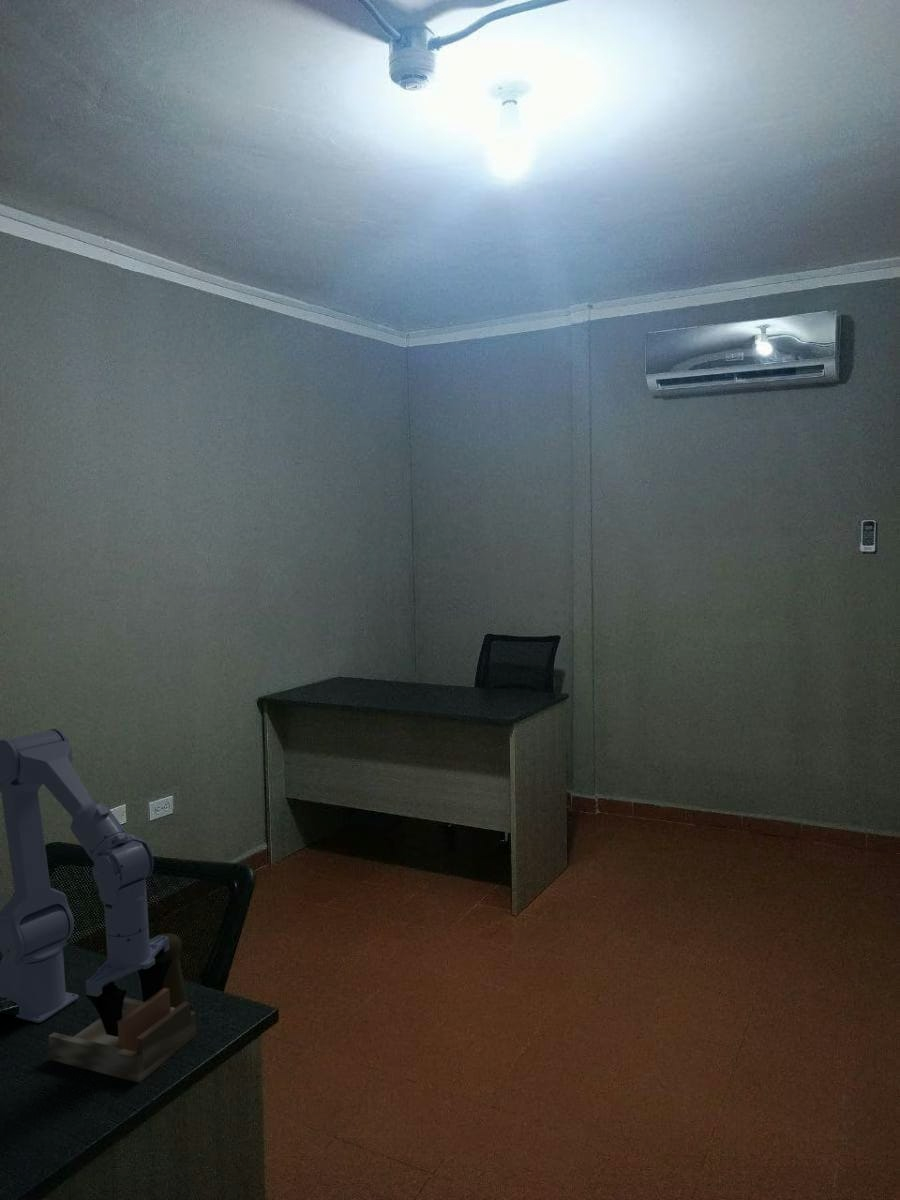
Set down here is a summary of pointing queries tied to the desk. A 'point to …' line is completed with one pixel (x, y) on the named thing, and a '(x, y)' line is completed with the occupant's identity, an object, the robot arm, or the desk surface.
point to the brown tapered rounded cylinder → (174, 973)
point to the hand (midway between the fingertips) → (133, 1020)
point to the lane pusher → (142, 1019)
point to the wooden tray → (108, 1058)
